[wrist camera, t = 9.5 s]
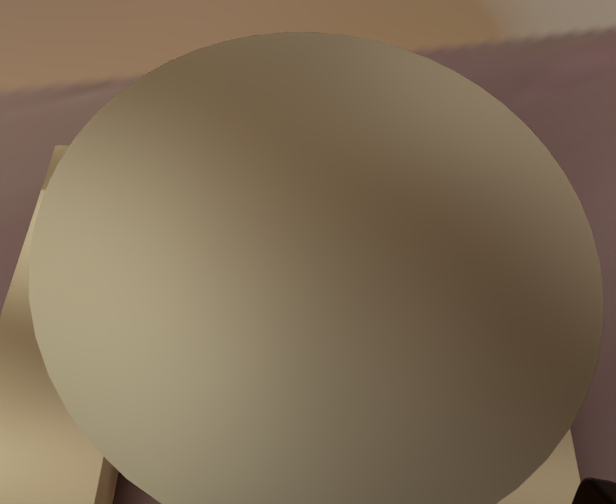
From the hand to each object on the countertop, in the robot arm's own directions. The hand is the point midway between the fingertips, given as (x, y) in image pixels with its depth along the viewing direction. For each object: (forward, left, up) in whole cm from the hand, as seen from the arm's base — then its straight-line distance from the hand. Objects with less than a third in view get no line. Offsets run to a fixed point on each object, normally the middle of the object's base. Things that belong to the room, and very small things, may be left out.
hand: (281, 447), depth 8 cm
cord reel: (+2, 0, -10) cm, 10 cm away
